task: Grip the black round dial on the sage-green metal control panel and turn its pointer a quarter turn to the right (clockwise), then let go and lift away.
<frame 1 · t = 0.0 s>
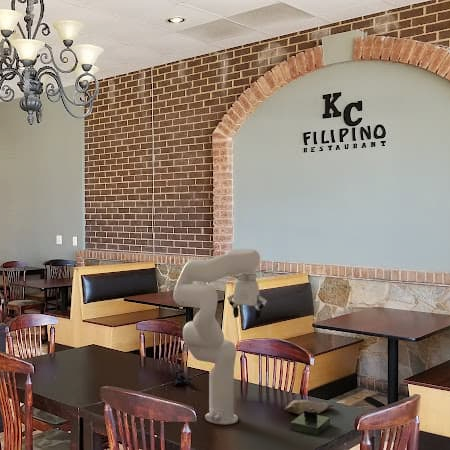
hand: (246, 318, 261), 37 cm above the table, tool pointing down, fingers open, 9 cm apart
dial: (310, 414, 233), point 5 cm above the table, hinge at 0.0°
toy: (180, 384, 293), on the table
panel: (310, 427, 233), on the table
stone: (309, 411, 252), on the table
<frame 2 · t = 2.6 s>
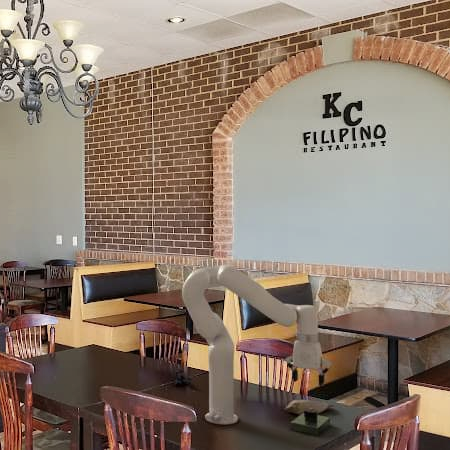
hand: (308, 382, 234), 17 cm above the table, tool pointing down, fingers open, 9 cm apart
nothing on the table moved.
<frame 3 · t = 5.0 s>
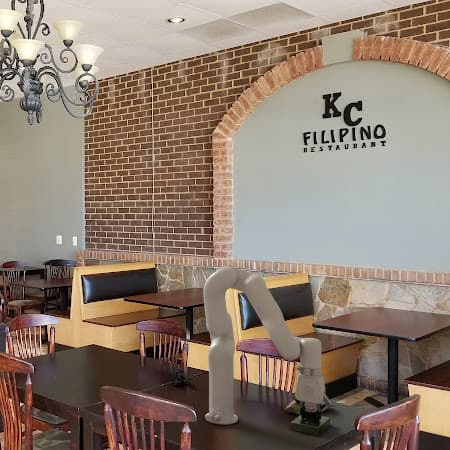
hand: (310, 418, 233), 3 cm above the table, tool pointing down, fingers closed on dial, 4 cm apart
dial: (310, 414, 233), point 5 cm above the table, hinge at 0.0°, touching gripper
everything else where it was.
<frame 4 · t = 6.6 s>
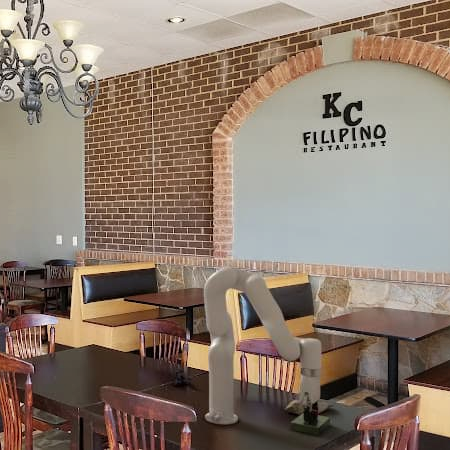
hand: (311, 418, 233), 3 cm above the table, tool pointing down, fingers open, 6 cm apart
dial: (310, 414, 233), point 5 cm above the table, hinge at -88.6°
everything else where it was.
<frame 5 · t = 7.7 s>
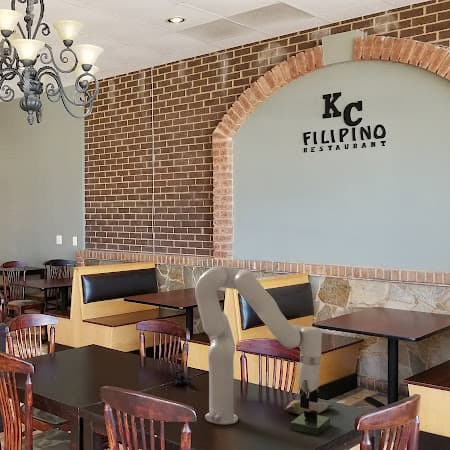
hand: (309, 404, 233), 9 cm above the table, tool pointing down, fingers open, 9 cm apart
nothing on the table moved.
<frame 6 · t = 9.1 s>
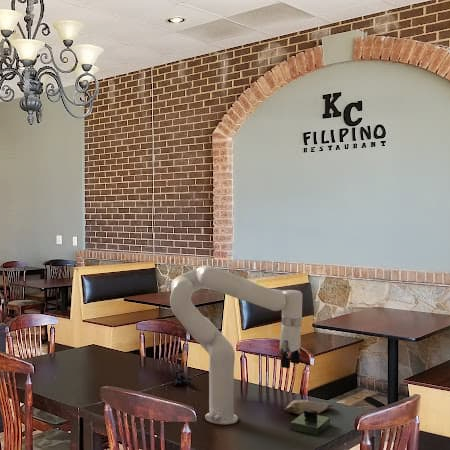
hand: (290, 365, 241), 22 cm above the table, tool pointing down, fingers open, 9 cm apart
nothing on the table moved.
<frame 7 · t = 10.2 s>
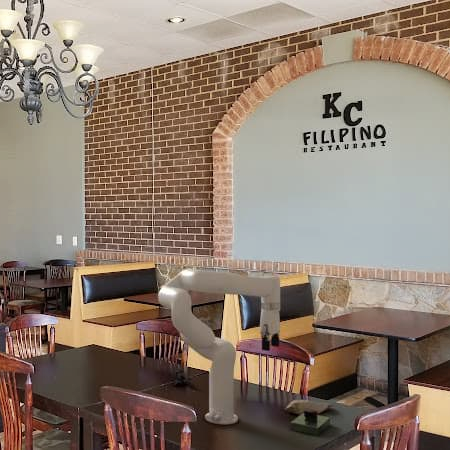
hand: (270, 348, 250), 26 cm above the table, tool pointing down, fingers open, 9 cm apart
nothing on the table moved.
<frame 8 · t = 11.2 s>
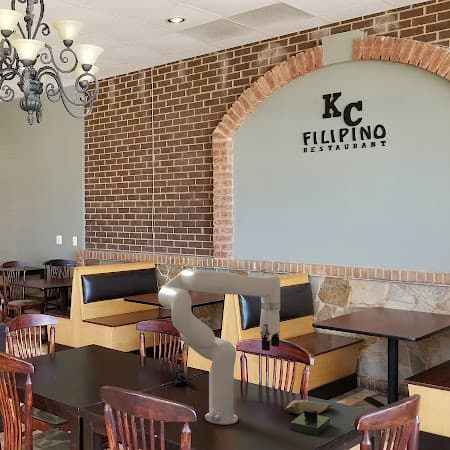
hand: (270, 348, 250), 26 cm above the table, tool pointing down, fingers open, 9 cm apart
nothing on the table moved.
at the end: dial at -89° (first picture: +0°); the gripper is holding nothing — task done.
